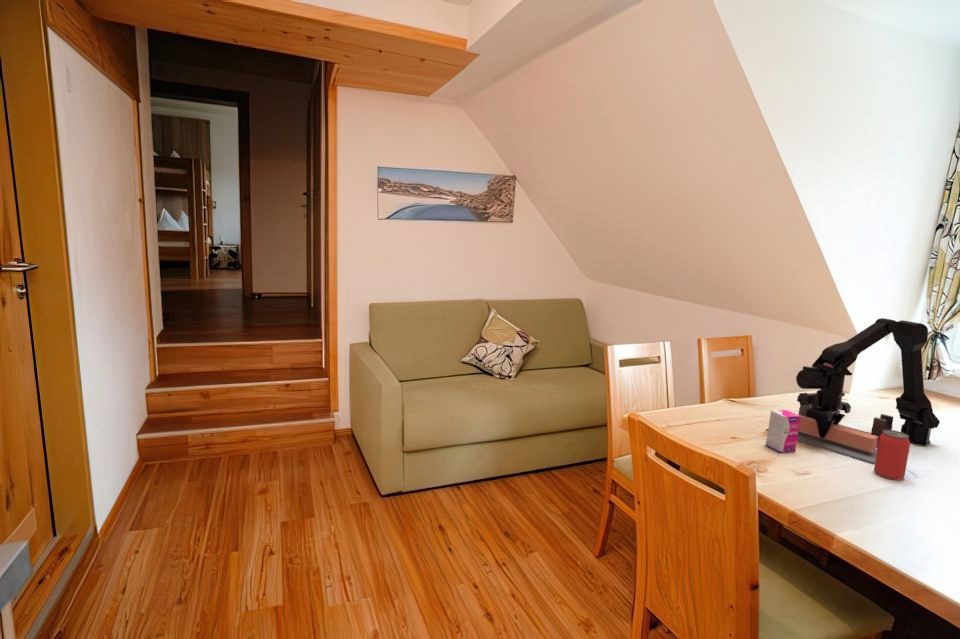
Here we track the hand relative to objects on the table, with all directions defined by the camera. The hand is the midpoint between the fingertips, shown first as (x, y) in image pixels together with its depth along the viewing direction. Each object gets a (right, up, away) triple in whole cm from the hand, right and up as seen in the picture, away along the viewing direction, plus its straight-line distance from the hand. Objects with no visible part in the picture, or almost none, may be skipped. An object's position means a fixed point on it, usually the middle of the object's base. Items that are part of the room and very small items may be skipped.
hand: (824, 436), depth 165 cm
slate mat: (0, -2, 0) cm, 2 cm away
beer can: (+3, -6, -22) cm, 23 cm away
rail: (0, 0, 0) cm, 0 cm away
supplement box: (-18, -3, -6) cm, 19 cm away
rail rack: (+11, -1, +9) cm, 14 cm away
